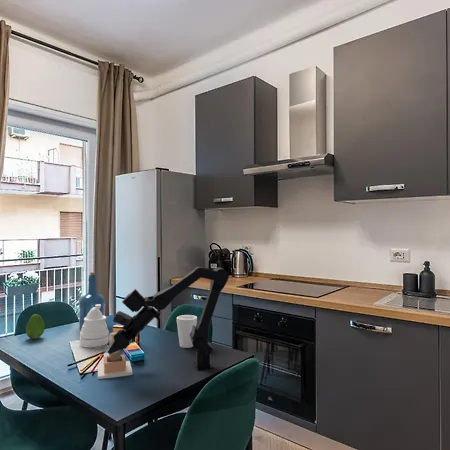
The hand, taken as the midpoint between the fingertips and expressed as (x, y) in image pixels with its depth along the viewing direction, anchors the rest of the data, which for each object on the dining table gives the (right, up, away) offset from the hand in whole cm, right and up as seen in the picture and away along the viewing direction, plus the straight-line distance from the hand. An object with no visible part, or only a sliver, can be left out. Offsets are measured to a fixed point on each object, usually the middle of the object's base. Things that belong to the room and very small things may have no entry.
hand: (112, 348), depth 137 cm
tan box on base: (+1, -8, 0) cm, 8 cm away
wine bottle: (-30, -9, +60) cm, 68 cm away
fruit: (-50, -9, +39) cm, 64 cm away
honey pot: (-19, -9, +33) cm, 39 cm away
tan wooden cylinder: (+1, -7, 0) cm, 7 cm away
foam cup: (+25, -9, +30) cm, 40 cm away
